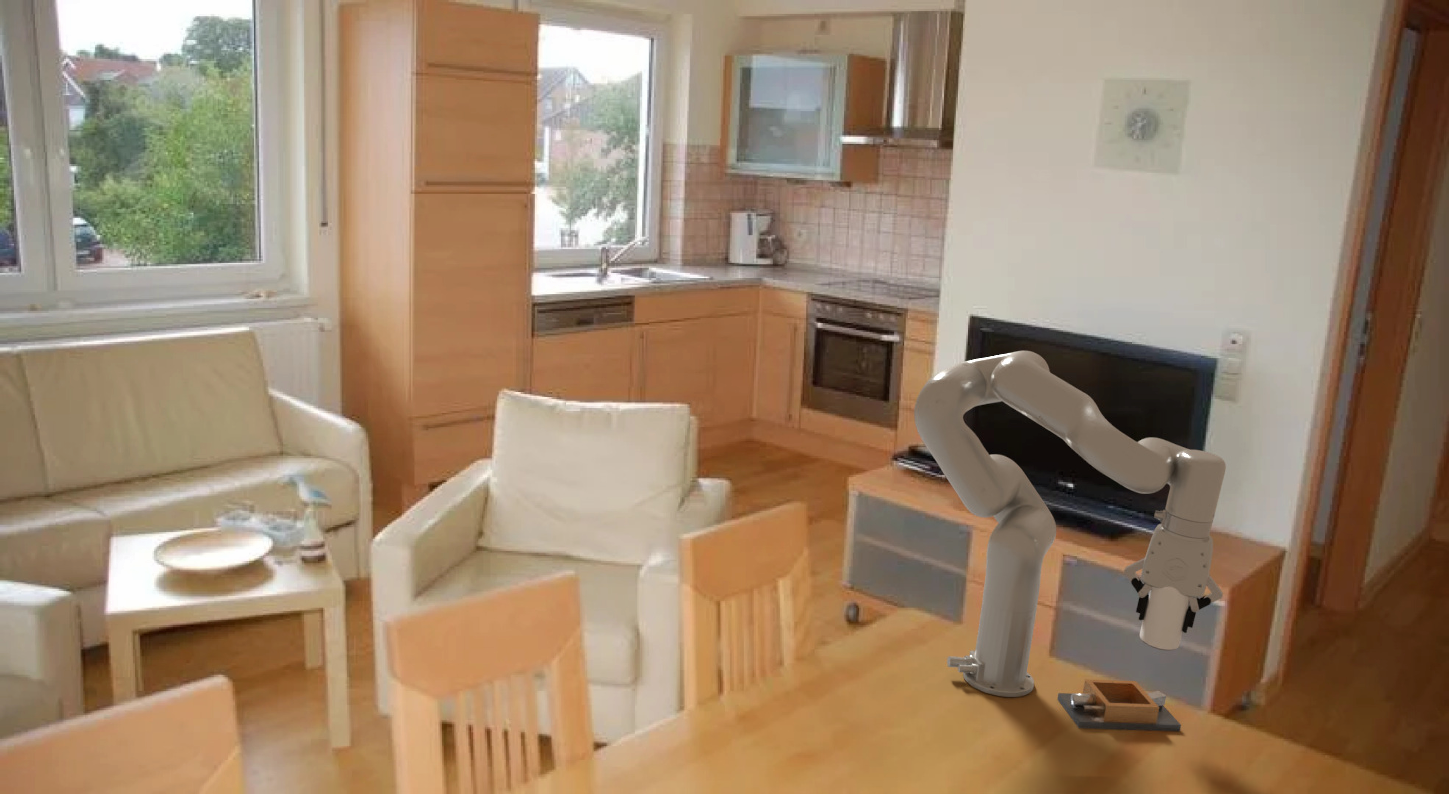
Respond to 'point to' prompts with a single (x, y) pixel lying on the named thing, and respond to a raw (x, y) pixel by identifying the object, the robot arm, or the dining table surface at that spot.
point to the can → (1164, 618)
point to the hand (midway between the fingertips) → (1163, 622)
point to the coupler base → (1118, 707)
